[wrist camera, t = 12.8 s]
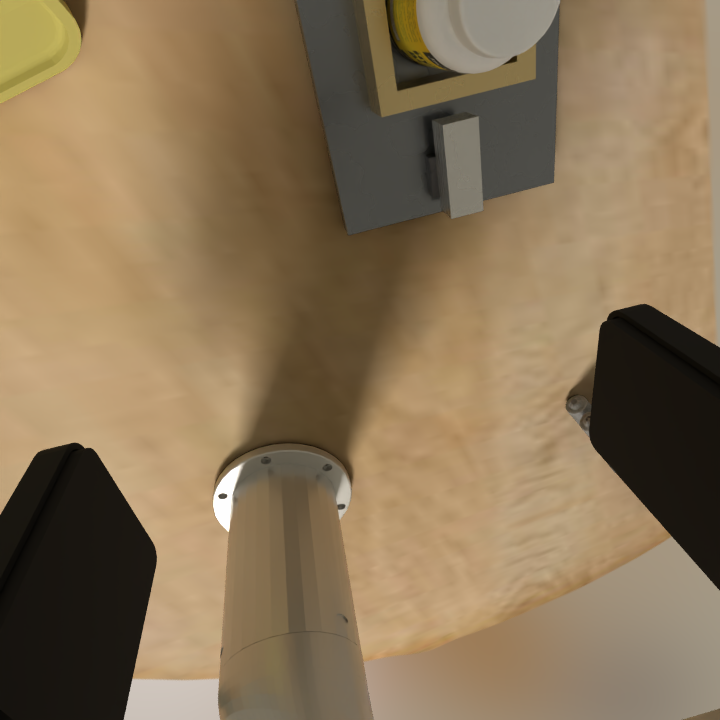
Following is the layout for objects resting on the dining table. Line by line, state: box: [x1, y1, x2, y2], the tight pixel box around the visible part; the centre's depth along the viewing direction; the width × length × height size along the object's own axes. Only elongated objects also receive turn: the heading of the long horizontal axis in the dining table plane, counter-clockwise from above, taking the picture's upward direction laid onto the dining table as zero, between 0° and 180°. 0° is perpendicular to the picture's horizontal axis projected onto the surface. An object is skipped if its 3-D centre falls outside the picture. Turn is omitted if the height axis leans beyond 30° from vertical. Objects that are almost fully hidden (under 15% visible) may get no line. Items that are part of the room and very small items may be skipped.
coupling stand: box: [294, 0, 560, 235], centre depth 25 cm, size 22×14×4 cm, turn 11°
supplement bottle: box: [385, 0, 560, 74], centre depth 21 cm, size 5×5×10 cm
